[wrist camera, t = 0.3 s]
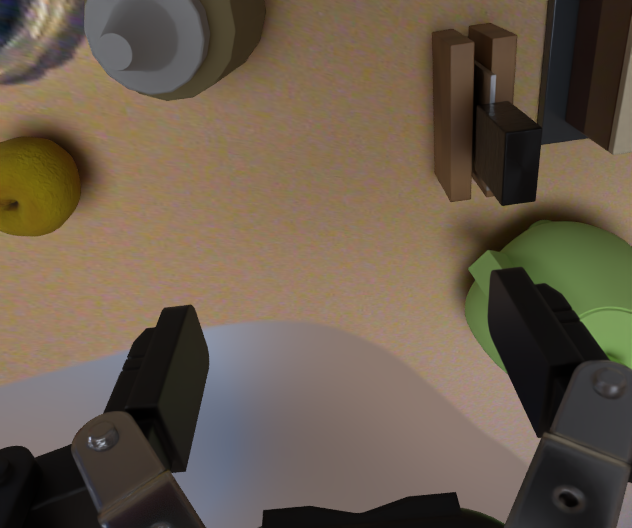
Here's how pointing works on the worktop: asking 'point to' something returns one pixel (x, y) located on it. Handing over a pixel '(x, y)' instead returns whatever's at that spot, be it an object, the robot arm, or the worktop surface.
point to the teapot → (565, 281)
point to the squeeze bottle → (172, 42)
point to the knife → (503, 144)
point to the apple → (36, 186)
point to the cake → (588, 74)
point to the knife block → (465, 97)
